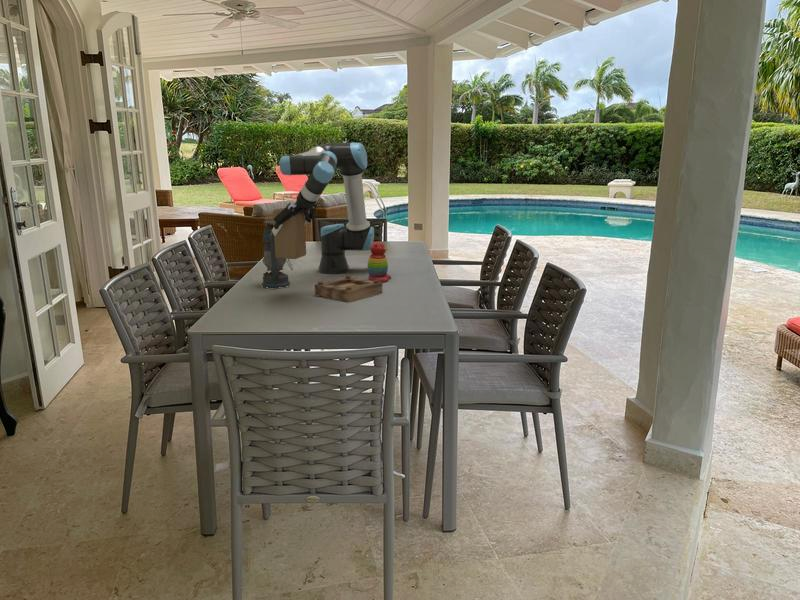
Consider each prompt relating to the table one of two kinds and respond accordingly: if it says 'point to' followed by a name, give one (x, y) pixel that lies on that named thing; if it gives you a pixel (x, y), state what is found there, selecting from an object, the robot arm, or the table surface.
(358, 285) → the base plate
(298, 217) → the wooden block
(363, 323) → the table surface
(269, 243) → the lantern
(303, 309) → the table surface
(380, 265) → the stacking bear
